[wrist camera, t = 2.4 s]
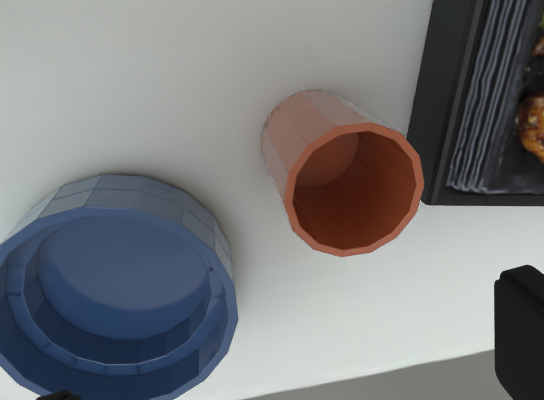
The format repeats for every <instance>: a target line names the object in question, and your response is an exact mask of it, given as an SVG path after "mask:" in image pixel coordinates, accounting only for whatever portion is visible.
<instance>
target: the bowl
mask: <svg viewBox="0 0 544 400" xmlns="http://www.w3.org/2000/svg"><path fill="white" fill-rule="evenodd" d="M237 322H238V311H237V302H236V294H235V285H234V276H233V268H232V259H231V251H230V245H229V243H228V241H227V239H226V237H225V236H224V234H223V232H222V230H221V228H220V227H219V225H218V223H217V221H216V220H215V218H214V216H213V215H212V214H211V213H210V212H209V211H207V210H206V209H205V208H204V207H203V206H201V205H200V204H199V203H198V202H197V201H195V200H194V199H193V198H192V197H191V196H189V195H188V194H187V193H186V192H184V191H182V190H180V189H177V188H174V187H172V186H169V185H167V184H164V183H161V182H159V181H156V180H154V179H151V178H149V177H145V176H127V175H109V174H104V175H99V176H96V177H92V178H88V179H85V180H81V181H77V182H74V183H70V184H66V185H64V186H62V187H60V188H59V189H57V190H56V191H55V192H53V193H52V194H50V195H49V196H48V197H46V198H45V199H44V200H42V201H41V202H39V203H38V204H37V205H35V206H34V207H32V209H31V210H30V211H29V212H28V213H27V214H26V215H25V217H24V218H23V219H22V220H21V221H20V222H19V223H18V225H17V226H16V227H15V228H14V229H13V230H12V231H11V233H10V234H9V235H8V236H7V237H6V238H5V239H4V241H3V242H2V243H1V244H0V366H1V367H2V368H3V369H4V370H5V371H6V372H7V373H8V374H9V375H10V376H11V377H12V378H13V379H14V381H15V382H16V383H18V384H19V385H21V386H23V387H25V388H27V389H29V390H31V391H32V392H34V393H36V394H38V395H40V396H45V395H48V394H52V393H56V392H59V391H63V390H68V391H70V392H71V394H72V395H76V394H77V395H79V396H80V397H81V399H82V400H173V399H176V398H177V397H179V396H180V395H182V394H183V393H185V392H187V391H188V390H190V389H191V388H193V387H195V386H196V385H198V384H199V383H201V382H202V381H204V380H205V379H206V378H207V377H208V376H209V375H210V374H211V372H212V371H213V370H214V369H215V367H216V366H217V365H218V364H219V363H220V361H221V360H222V359H223V358H224V356H225V355H226V354H227V353H228V351H229V348H230V344H231V341H232V338H233V335H234V332H235V329H236V325H237Z"/></svg>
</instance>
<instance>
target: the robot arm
mask: <svg viewBox="0 0 544 400" xmlns="http://www.w3.org/2000/svg"><path fill="white" fill-rule="evenodd" d="M494 323H495V372H496V375H497V378H498V380H499V382H500V383H501V385H502V386H503V387H504V389H505V390H506V391H507V392H508V394H509V395H510V396H511V397H512V399H513V400H544V274H542V273H541V272H540V271H538V270H537V269H536V268H534V267H533V266H531V265H524V266H521V267H517V268H513V269H510V270H506V271H503V272H502V273H501V274H500V279H499V280H496V281H495V284H494ZM36 400H82V399H81V397H80V396H79V395H77V394H76V395H72V394H71V392H70V391H68V390H63V391H59V392H56V393H52V394H48V395H45V396H41V397H39V398H37V399H36Z"/></svg>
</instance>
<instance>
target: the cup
mask: <svg viewBox="0 0 544 400" xmlns="http://www.w3.org/2000/svg"><path fill="white" fill-rule="evenodd" d="M261 148H262V149H261V151H262V155H263V158H264V161H265V163H266V166H267V169H268V172H269V174H270V177H271V179H272V182H273V184H274V186H275V189H276V191H277V194H278V196H279V199H280V201H281V203H282V206H283V208H284V211H285V213H286V216H287V218H288V220H289V223H290V225H291V228H292V230H293V231H294V232H295V233H296V234H297V235H298V236H299V237H300V238H301V239H302V240H303V241H305V242H306V243H307V244H308V245H309V246H310V247H311V248H312V249H314V250H317V251H321V252H324V253H328V254H332V255H335V256H339V257H345V256H351V255H358V254H364V253H370V252H372V251H374V250H376V249H378V248H379V247H381V246H383V245H384V244H386V243H388V242H390V241H391V240H393V239H395V238H396V237H397V236H398V235H399V234H400V233H401V232H402V230H403V229H404V228H405V227H406V225H407V224H408V223H409V222H410V220H411V219H412V218H413V217H414V215H415V214H416V212H417V209H418V205H419V202H420V198H421V195H422V191H423V188H424V178H423V173H422V167H421V162H420V156H419V154H418V153H417V152H416V151H415V149H414V148H413V147H412V146H411V145H410V143H409V142H408V141H407V140H406V139H405V137H404V136H403V135H402V134H401V133H400V132H398V131H397V130H395V129H393V128H392V127H390V126H389V125H387V124H385V123H384V122H382V121H380V120H379V119H377V118H375V117H374V116H372V115H370V114H369V113H367V112H366V111H364V110H362V109H361V108H359V107H357V106H356V105H354V104H352V103H351V102H349V101H348V100H346V99H344V98H341V97H339V96H337V95H335V94H332V93H329V92H326V91H319V90H310V91H304V92H300V93H297V94H294V95H292V96H290V97H288V98H287V99H285V100H284V101H282V102H281V103H280V104H279V105H278V106H277V107H276V108H275V109H274V110H273V111H272V113H271V114H270V116H269V117H268V119H267V121H266V123H265V126H264V129H263V133H262V140H261Z"/></svg>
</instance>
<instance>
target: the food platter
mask: <svg viewBox="0 0 544 400" xmlns="http://www.w3.org/2000/svg"><path fill="white" fill-rule="evenodd" d="M407 141H408V142H409V143H410V145H411V146H412V147H413V148H414V149H415V151H416V152H417V153H418V154H419V156H420V162H421V167H422V173H423V178H424V188H423V191H422V195H421V198H420V200H421V201H422V202H423V203H425V204H427V205H444V206H544V0H434V1H433V6H432V11H431V17H430V22H429V27H428V32H427V37H426V43H425V48H424V53H423V58H422V63H421V69H420V74H419V79H418V84H417V89H416V95H415V100H414V105H413V110H412V115H411V120H410V126H409V131H408V136H407Z"/></svg>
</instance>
